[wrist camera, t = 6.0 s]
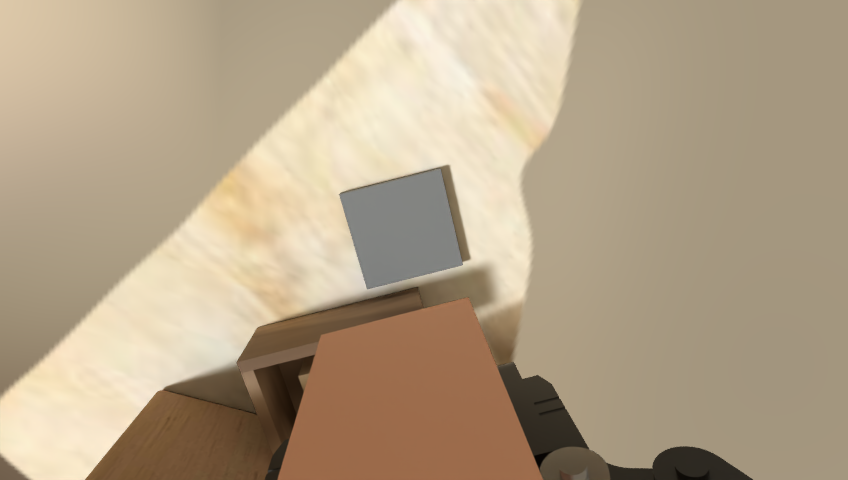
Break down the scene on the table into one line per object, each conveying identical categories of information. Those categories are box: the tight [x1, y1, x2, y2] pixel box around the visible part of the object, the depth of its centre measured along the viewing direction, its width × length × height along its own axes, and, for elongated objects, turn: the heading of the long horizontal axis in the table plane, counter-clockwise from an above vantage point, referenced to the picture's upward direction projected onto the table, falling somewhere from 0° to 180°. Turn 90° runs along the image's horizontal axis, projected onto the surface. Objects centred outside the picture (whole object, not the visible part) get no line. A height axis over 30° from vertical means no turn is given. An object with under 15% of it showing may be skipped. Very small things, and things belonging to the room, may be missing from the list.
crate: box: [237, 287, 424, 454], centre depth 34 cm, size 11×12×5 cm
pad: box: [339, 168, 463, 289], centre depth 34 cm, size 7×7×1 cm
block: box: [278, 297, 543, 480], centre depth 11 cm, size 4×4×8 cm
